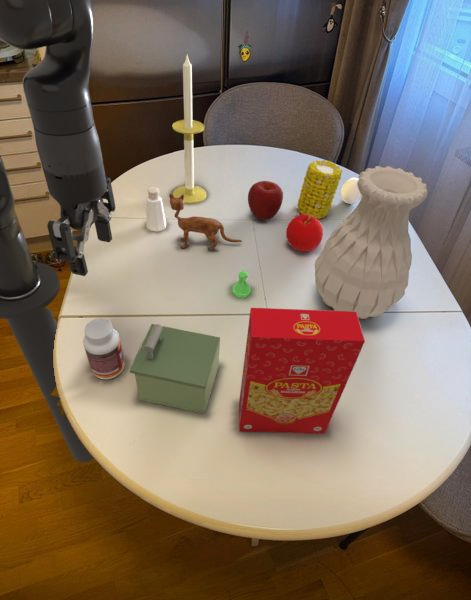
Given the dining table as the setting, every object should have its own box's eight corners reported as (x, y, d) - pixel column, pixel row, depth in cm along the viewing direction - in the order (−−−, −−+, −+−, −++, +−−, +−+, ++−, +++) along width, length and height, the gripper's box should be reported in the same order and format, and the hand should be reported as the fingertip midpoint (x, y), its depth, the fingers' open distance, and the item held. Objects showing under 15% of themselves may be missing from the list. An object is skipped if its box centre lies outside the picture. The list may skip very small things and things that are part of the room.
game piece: (236, 283, 98) (237, 263, 93) (253, 288, 97) (255, 268, 92) (229, 294, 95) (230, 274, 90) (246, 300, 94) (249, 280, 90)
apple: (284, 224, 116) (289, 192, 109) (251, 227, 114) (254, 195, 107) (273, 205, 122) (278, 174, 115) (242, 208, 120) (245, 176, 113)
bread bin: (139, 399, 74) (134, 374, 69) (159, 353, 82) (156, 327, 76) (204, 414, 73) (205, 389, 68) (218, 366, 80) (220, 340, 75)
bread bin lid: (130, 373, 69) (126, 356, 66) (152, 326, 76) (149, 310, 73) (205, 389, 68) (205, 373, 64) (220, 340, 75) (220, 323, 72)
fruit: (281, 252, 107) (286, 219, 100) (287, 233, 113) (293, 200, 106) (316, 260, 105) (325, 227, 98) (321, 240, 112) (329, 208, 105)
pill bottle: (130, 371, 78) (123, 332, 71) (99, 386, 76) (87, 348, 68) (117, 349, 82) (108, 310, 74) (86, 362, 79) (74, 323, 71)
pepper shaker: (153, 218, 114) (150, 181, 107) (170, 224, 113) (168, 187, 105) (142, 228, 111) (137, 191, 103) (159, 234, 109) (156, 197, 102)
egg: (349, 195, 129) (356, 171, 124) (363, 205, 126) (371, 181, 120) (333, 199, 127) (339, 175, 121) (347, 210, 123) (354, 186, 118)
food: (290, 211, 124) (320, 207, 127) (310, 224, 115) (341, 221, 118) (295, 158, 116) (327, 156, 119) (317, 168, 107) (350, 166, 110)
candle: (165, 194, 123) (156, 51, 97) (189, 182, 129) (187, 44, 103) (189, 207, 119) (186, 62, 93) (213, 194, 125) (217, 54, 98)
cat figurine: (241, 237, 110) (245, 191, 101) (242, 253, 106) (246, 206, 96) (172, 235, 109) (170, 188, 100) (170, 251, 105) (167, 203, 95)
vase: (299, 271, 102) (325, 154, 81) (378, 270, 104) (423, 156, 83) (318, 334, 88) (356, 212, 67) (408, 331, 90) (473, 212, 69)
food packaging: (239, 431, 71) (251, 337, 53) (238, 404, 75) (250, 307, 57) (324, 433, 72) (365, 341, 54) (320, 406, 75) (356, 311, 58)
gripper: (71, 131, 59) (91, 226, 70) (12, 180, 49) (47, 281, 61) (121, 140, 58) (133, 234, 70) (72, 191, 48) (95, 291, 60)
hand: (93, 256), depth 65 cm, fingers open, 8 cm apart
